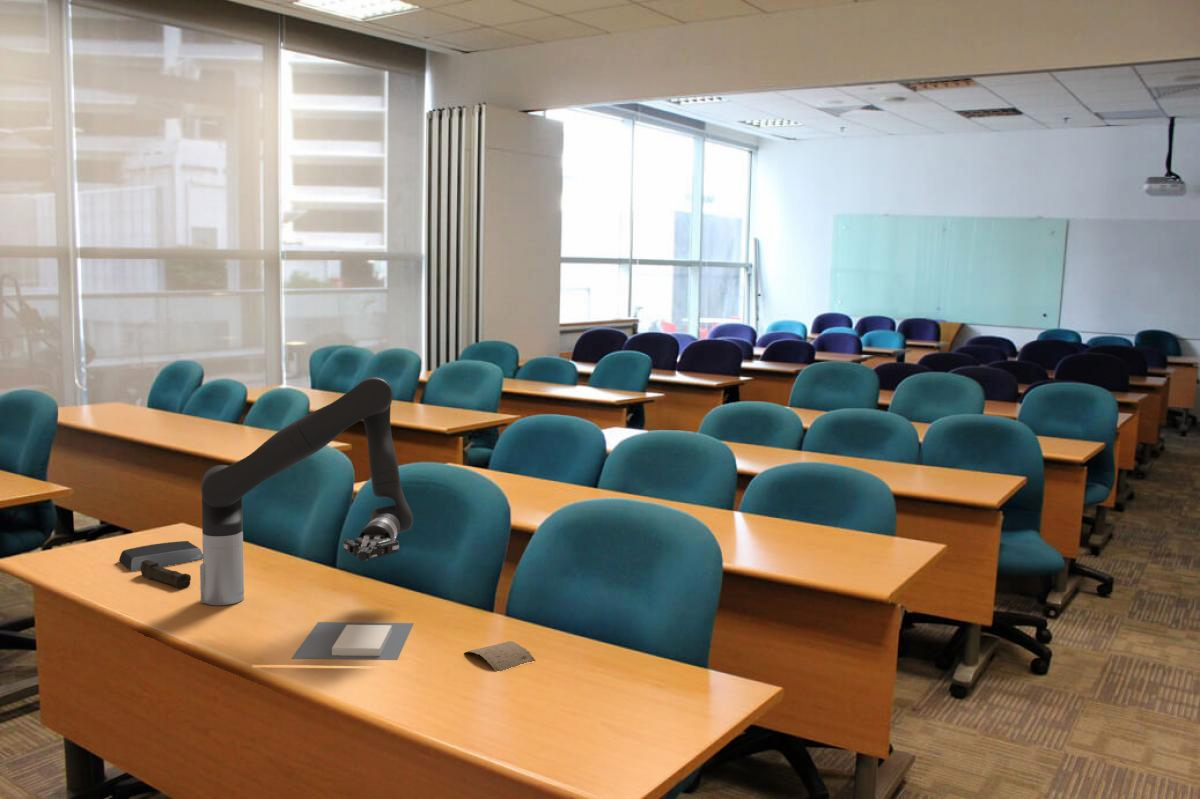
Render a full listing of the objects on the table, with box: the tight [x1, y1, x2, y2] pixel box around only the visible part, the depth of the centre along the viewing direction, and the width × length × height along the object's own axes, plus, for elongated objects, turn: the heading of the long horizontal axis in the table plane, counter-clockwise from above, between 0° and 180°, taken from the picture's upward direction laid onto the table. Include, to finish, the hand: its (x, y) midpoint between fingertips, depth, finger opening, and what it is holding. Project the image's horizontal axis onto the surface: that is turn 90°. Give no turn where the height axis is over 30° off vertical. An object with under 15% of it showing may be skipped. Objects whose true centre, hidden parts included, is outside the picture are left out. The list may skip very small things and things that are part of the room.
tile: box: [332, 625, 392, 656], centre depth 208 cm, size 10×2×14 cm
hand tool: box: [140, 560, 192, 590], centre depth 249 cm, size 19×4×5 cm, turn 54°
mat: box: [290, 621, 414, 661], centre depth 210 cm, size 22×22×1 cm
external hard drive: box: [118, 540, 203, 572], centre depth 267 cm, size 13×19×4 cm
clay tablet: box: [464, 640, 536, 673], centre depth 204 cm, size 14×10×3 cm
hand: (363, 556), depth 207 cm, fingers closed
